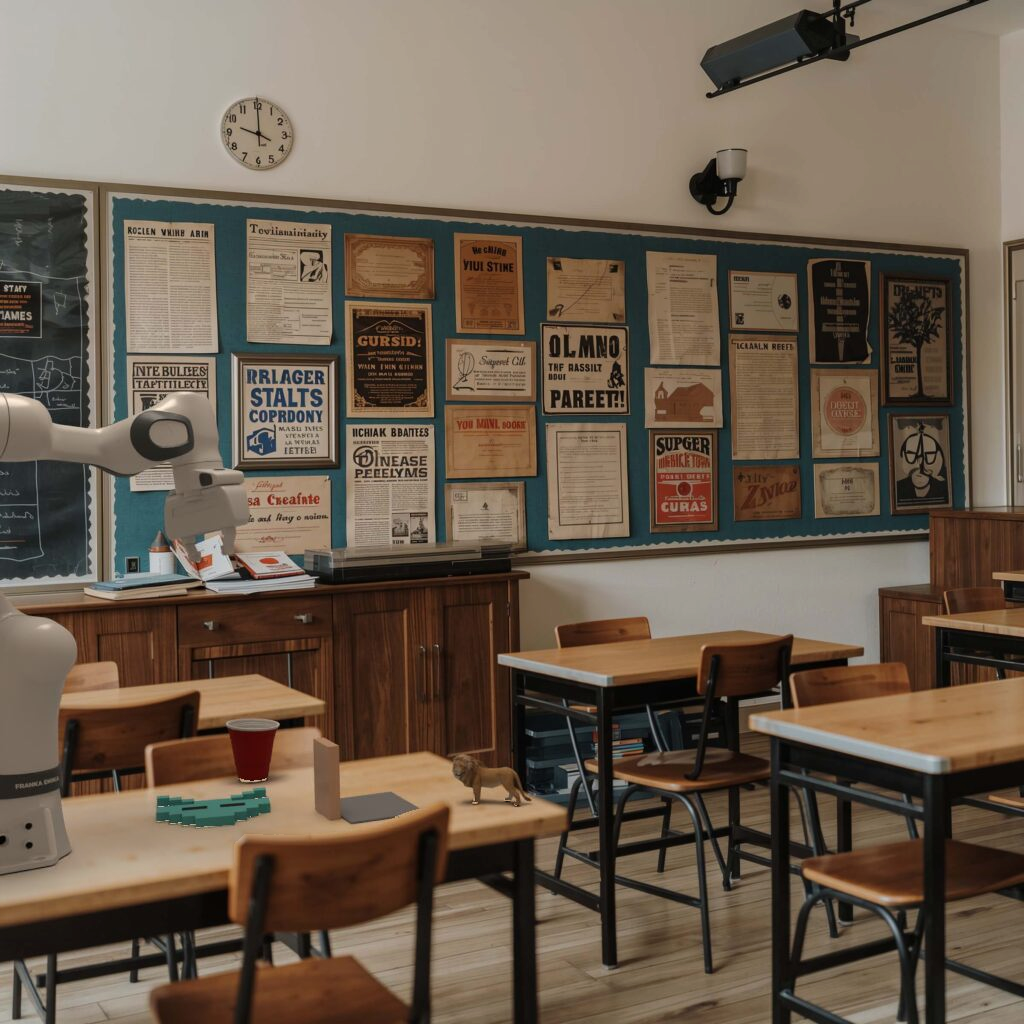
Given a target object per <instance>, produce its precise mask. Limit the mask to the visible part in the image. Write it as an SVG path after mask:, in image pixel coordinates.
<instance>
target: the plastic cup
mask: <svg viewBox="0 0 1024 1024" xmlns="http://www.w3.org/2000/svg"><path fill="white" fill-rule="evenodd" d="M280 725H281V724H280V723H279V722H278V721H275V720H273V719H266V718H237V719H232V720H228V721H226V722H225V726H226V727H227V731H228V734H229V739H230V742H231V743H230V744H231V750H232V754H233V755H232V757H233V761H234V765H235V769H236V774H237V778H241V779H244V780H250V781H254V780H262V779H265V778H267V777H269V773H270V766H271V761H272V756H273V748H274V743H275V738H276V733H277V730H278V728H279V727H280ZM267 779H268V778H267Z"/></svg>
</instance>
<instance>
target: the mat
mask: <svg viewBox="0 0 1024 1024" xmlns="http://www.w3.org/2000/svg"><path fill="white" fill-rule="evenodd" d="M419 808H420V807H418V806H417V805H415V804H413V803H411V802H409V801H408V800H406V799H405V798H403V797H402V796H400V795H398V794H396V793H394V792H393V791H386V792H377V793H371V794H370V793H369V794H363V795H353V796H346V797H340V811H341V819H343V820H345V821H346V822H348V823H349V824H350V825H355V824H361V823H368V822H375V821H383V820H388V819H387V818H391V817H395V816H398V815H401V814H403V813H406V812H409V811H412V810H416V809H419ZM391 819H392V818H391Z"/></svg>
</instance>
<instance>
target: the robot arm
mask: <svg viewBox="0 0 1024 1024" xmlns="http://www.w3.org/2000/svg"><path fill="white" fill-rule="evenodd" d="M219 441H220V436H219V431H218V425H217V420H216V416H215V411H214V409H213V405H212V403H211V401H210V399H209V398H208V397H207V396H206V395H205V394H203V393H201V392H197V391H192V390H181V391H180V390H178V391H173V392H170V393H168V394H167V395H166V396H165V397H164V398H163V399H162V400H160V401H158V402H157V403H156V404H155V405H153V406H151V407H149V408H147V409H145V410H142V411H139V412H137V413H136V414H133V415H131V416H129V417H127V418H124V419H121V420H120V421H117V422H112V423H110V424H108V425H105V426H102V427H99V428H89V427H88V428H87V427H82V426H81V427H80V426H72V425H66V424H65V425H64V424H59V423H55V422H53V420H52V417H51V414H50V412H49V410H48V409H47V408H46V406H45V405H44V404H43V403H42V402H41V401H40V400H38V399H35V398H31V397H28V396H24V395H21V394H16V393H8V392H0V462H1V463H2V462H3V463H11V462H12V463H19V462H21V463H22V462H32V461H44V460H45V461H53V462H60V463H61V462H63V463H71V464H80V465H88V466H91V467H95V468H96V469H99V470H100V471H102V472H105V473H107V474H108V475H111V476H113V477H117V478H121V479H127V478H133V477H136V476H138V475H140V474H141V473H143V472H145V471H146V470H150V469H153V468H155V467H157V466H159V465H163V464H165V463H169V464H170V465H171V469H172V475H173V481H174V483H173V484H174V489H173V488H172V489H171V490H169V491H168V494H167V496H166V497H165V503H164V506H163V507H164V508H163V510H164V511H163V513H164V514H163V515H164V516H163V518H164V528H165V529H164V530H165V535H166V537H167V539H168V540H169V541H179V540H180V541H181V545H182V547H183V548H184V550H185V551H186V553H187V559H188V561H189V563H197V562H200V561H202V560H203V559H202V551H201V550H200V551H199V550H198V549H197V547H196V545H195V543H196V542H197V540H196V537H198V536H202V535H207V534H210V533H215V532H216V533H217V532H219V531H221V535H222V536H223V541H222V542H223V543H222V545H220V546H219V547H220V551H221V552H220V553H221V555H222V556H230V555H234V554H235V553H236V551H235V541H236V536H237V528H238V527H241V526H246V525H248V524H249V521H250V518H251V513H250V505H249V504H250V503H249V500H248V494H247V490H246V488H245V487H244V485H243V484H244V483H245V474H244V473H243V471H241V470H237V469H236V470H235V469H230V468H226V467H224V463H223V462H224V461H223V458H222V456H221V454H220V450H219V443H220V442H219ZM77 657H78V647H77V642H76V639H75V637H74V636H73V634H72V633H71V632H70V631H69V630H68V629H67V628H66V627H64V626H63V625H62V624H60V623H59V622H57V621H55V620H53V619H50V618H48V617H44V616H43V617H41V616H32V615H28V614H25V613H23V612H22V611H20V610H19V609H17V608H16V607H15V606H14V605H13V603H11V602H10V601H9V600H8V598H7V597H6V595H5V594H4V592H3V591H2V590H1V589H0V875H4V874H9V873H16V872H21V871H25V870H32V869H37V868H42V867H43V868H44V867H48V866H53V865H55V864H56V863H58V861H59V859H61V858H62V857H65V856H66V855H68V854H69V853H70V852H71V851H72V849H73V847H72V845H71V842H70V839H69V836H68V832H67V828H66V824H65V820H64V818H65V817H64V814H63V805H62V797H63V785H64V783H63V781H64V780H63V772H62V771H63V770H62V764H61V763H60V762H59V760H60V759H59V715H60V714H59V713H60V707H61V702H62V697H63V693H64V688H65V684H66V679H67V677H68V675H69V674H70V672H71V671H72V670H73V668H74V666H75V664H76V662H77V659H78V658H77Z"/></svg>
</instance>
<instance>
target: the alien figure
mask: <svg viewBox="0 0 1024 1024" xmlns="http://www.w3.org/2000/svg"><path fill="white" fill-rule="evenodd" d="M262 797H266V798H262ZM182 798H183V797H182V796H175V797H170V795H168V794H166V795H156V807H155V808H156V809H155V810H156V811H155V814H156V815H155V817H156V818H155V819H156V820H155V821H165V820H169V822H168V823H178V822H182V825H190V824H196V825H195V828H196V827H204V826H219V827H223V826H222V825H230V826H235V825H236V822H235V821H237V820H247V821H248V818H247V817H249V818H255V817H254V816H259V817H260V814H259V813H261V814H269V813H271V801H270V798H269V797H267V788H266V787H264V786H263V787H253V788H252V790H249V791H248V790H247V791H245V790H244V791H242V792H241V794H231V795H230V797H229V798H227V797H226V798H216V799H214V798H213V799H205V800H204V799H203V800H195V798H185V799H184V798H183V799H182ZM255 798H258V799H255ZM168 805H169V806H168ZM158 806H164V807H158ZM250 816H251V817H250ZM234 824H235V825H234ZM182 825H181V826H182Z"/></svg>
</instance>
